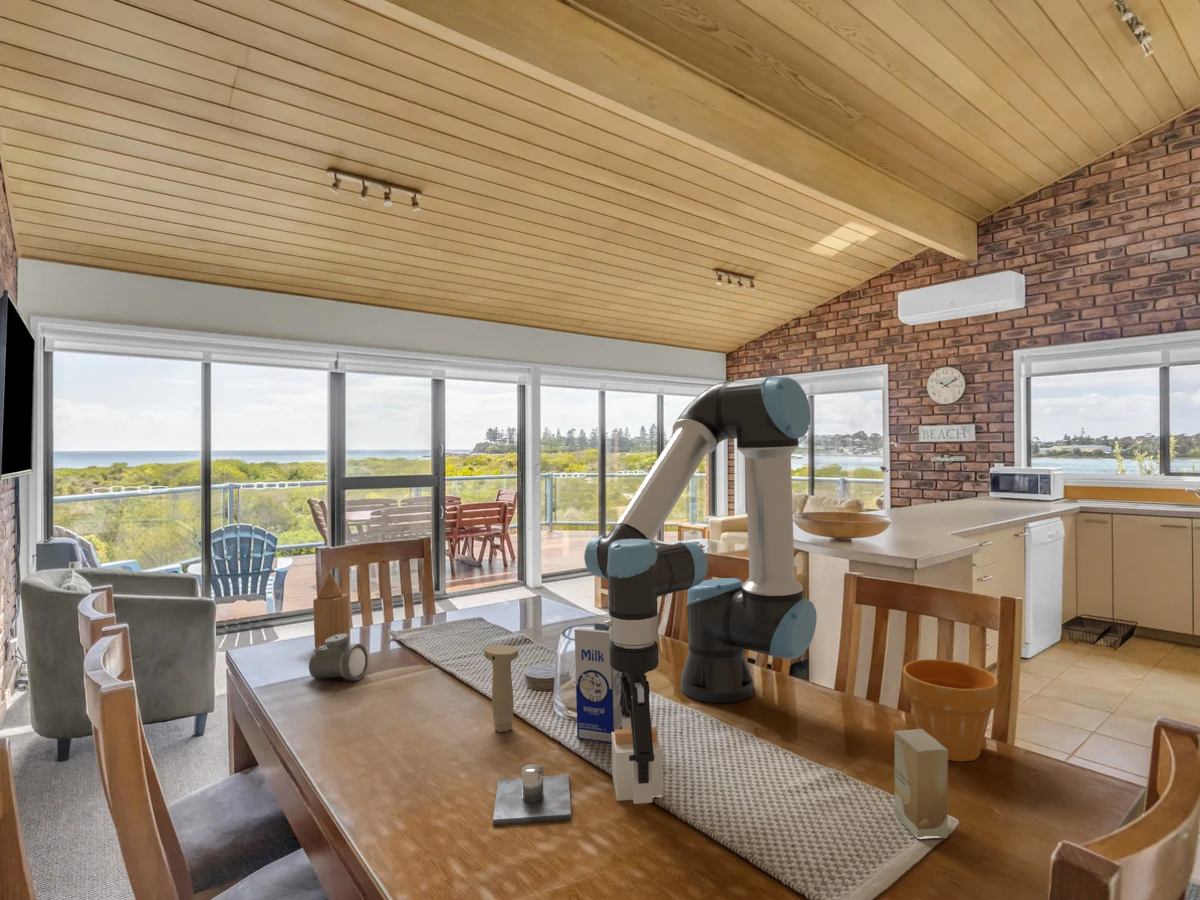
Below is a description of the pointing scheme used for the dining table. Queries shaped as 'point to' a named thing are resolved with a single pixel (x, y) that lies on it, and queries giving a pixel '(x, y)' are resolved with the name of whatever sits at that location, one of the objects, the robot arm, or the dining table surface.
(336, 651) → the pipe fitting
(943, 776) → the skincare box
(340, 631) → the decorative item
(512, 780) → the post base
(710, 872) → the dining table surface
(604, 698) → the milk carton
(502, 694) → the handle
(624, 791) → the white block with peg
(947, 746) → the flower pot
